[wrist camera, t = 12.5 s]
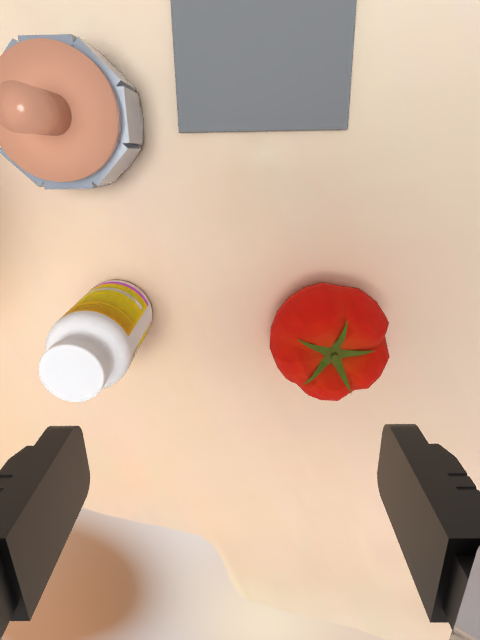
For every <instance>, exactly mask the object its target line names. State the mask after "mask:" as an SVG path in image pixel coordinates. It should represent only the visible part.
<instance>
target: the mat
mask: <svg viewBox="0 0 480 640" xmlns="http://www.w3.org/2000/svg"><path fill="white" fill-rule="evenodd" d="M356 1H357V0H171V15H172V31H173V46H174V62H175V78H176V94H177V110H178V126H179V133H187V132H242V131H296V130H346V129H348V116H349V101H350V87H351V73H352V58H353V44H354V30H355V15H356Z"/></svg>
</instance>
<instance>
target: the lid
mask: <svg viewBox="0 0 480 640" xmlns="http://www.w3.org/2000/svg"><path fill="white" fill-rule="evenodd" d="M120 132H121V113H120V107H119V103H118V99H117V96H116V93H115V91H114V89H113V86H112V85H111V83H110V81H109V79H108V78H107V76H106V75H105V73H104V72H103V71H102V69H101V68H100V67H99V66H98V65H97V64H96V63H95V62H94V61H93V60H91V59H90V58H89V57H88V56H86V55H85V54H83V53H82V52H80V51H79V50H77V49H75V48H74V47H72V46H70V45H68V44H66V43H63V42H60V41H57V40H53V39H47V38H36V39H29V40H25V41H22V42H19V43H17V44H15V45H13V46H12V47H10V48H9V49H7V50H6V51H5V52H4V53H3V54H2V55H1V56H0V146H1V148H2V149H3V151H4V152H5V153H6V154H7V155H8V157H9V158H10V159H11V160H12V161H13V162H14V163H16V164H17V165H18V166H19V167H21V168H22V169H23V170H25V171H26V172H28V173H30V174H32V175H34V176H36V177H38V178H41V179H44V180H48V181H54V182H69V181H76V180H80V179H84V178H87V177H89V176H91V175H93V174H95V173H96V172H98V171H99V170H100V169H102V168H103V167H104V166H105V165H106V164H107V163H108V161H109V160H110V159H111V157H112V156H113V154H114V152H115V150H116V148H117V144H118V141H119V137H120Z"/></svg>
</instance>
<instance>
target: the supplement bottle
mask: <svg viewBox="0 0 480 640" xmlns="http://www.w3.org/2000/svg"><path fill="white" fill-rule="evenodd" d="M151 322H152V308H151V304H150V302H149V300H148V298H147V297H146V295H145V294H144V293H143V292H142V291H141V290H140V289H139V288H138V287H136V286H135V285H133V284H131V283H128V282H125V281H121V280H110V281H106V282H103V283H100V284H98V285H97V286H95V287H94V288H93V289H92V290H91V291H89V292H88V293H87V294H86V295H85V296H84V297H83V298H82V299H81V300H80V301H79V302H78V303H77V304H76V305H75V306H73V307H72V308H71V309H70V310H69V311H68V312H67V313H66V314H65V315H64V316H63V317H62V318H60V319H59V320H58V321H57V322H56V323H55V324H54V326H53V327H52V328H51V330H50V332H49V334H48V336H47V340H46V352H45V353H44V355H43V356H42V358H41V360H40V363H39V375H40V378H41V381H42V383H43V384H44V386H45V387H46V388H47V389H48V390H49V391H50V392H51V393H52V394H53V395H55V396H56V397H58V398H60V399H63V400H66V401H70V402H82V401H87V400H89V399H91V398H93V397H95V396H96V395H97V394H98V393H99V392H100V391H101V389H104V388H107V387H109V386H111V385H113V384H115V383H116V382H118V381H119V380H120V379H121V378H122V377H123V376H124V374H125V373H126V371H127V370H128V368H129V366H130V364H131V362H132V360H133V358H134V356H135V354H136V352H137V351H138V349H139V347H140V345H141V343H142V341H143V339H144V338H145V336H146V334H147V332H148V330H149V328H150V325H151Z"/></svg>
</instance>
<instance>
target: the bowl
mask: <svg viewBox="0 0 480 640" xmlns="http://www.w3.org/2000/svg"><path fill="white" fill-rule="evenodd" d="M36 38H47V39H53V40H57V41H60V42H63V43H66V44H68V45H70V46H72V47H74V48H75V49H77V50H79V51H80V52H82V53H83V54H85V55H86V56H88V57H89V58H90V59H91V60H93V61H94V62H95V63H96V64H97V65H98V66H99V67H100V68H101V69H102V71H103V72H104V73H105V75H106V76H107V78H108V79H109V81H110V83H111V85H112V86H113V89H114V91H115V93H116V96H117V99H118V103H119V107H120V113H121V132H120V137H119V141H118V144H117V148H116V150H115V152H114V154H113V156H112V157H111V159H110V160H109V161H108V163H107V164H106V165H105V166H104V167H103V168H102V169H100V170H99V171H98V172H96V173H95V174H93V175H91V176H89V177H87V178H84V179H80V180H76V181H69V182H54V181H48V180H44V179H41V178H38V177H36V176H34V175H32V174H30V173H28V172H26V171H25V170H23V169H22V168H21V167H19V166H18V165H17V164H16V163H14V162H13V161H12V160H11V159H10V158H9V157H8V155H7V154H6V153H5V152H4V151H3V149H2V148H1V147H0V153H1V154H2V155H3V156H4V157H5V158H7V159H8V160H9V161H10V162H11V163H12V164H14V165H15V166H16V167H17V168H18V169H19V170H20V171H22V172H23V173H24V174H25V175H26V176H27V177H28V178H30V179H31V180H32V181H33V182H34V183H35V184H37V185H38V186H39V187H43V186H44V187H45V189H88V188H97V187H101V186H105V185H109V184H110V183H113V182H115V181H116V180H117V178H118V177H119V176H120V175H121V174H122V173H123V172H125V171H126V170H127V169H128V168H129V167H130V166H131V164H132V163H133V161H134V160H135V158H136V156H137V155H138V153H139V151H140V150H141V148H140V147H141V144H143V131H144V122H143V114H142V109H141V106H140V102H139V95H138V94H137V93H136V92H135V89H136V88H135V87H134V86H133V85H132V84H131V83H130V82H129V81H128V80H127V79H126V77H125V76H124V75H123V74H122V73H121V72H120V71H119V70H118V69H117V68H116V67H114V66H113V65H112V64H111V63H110V62H109V61H108V60H107V59H106V58H105V57H104V56H103V55H102V54H101V53H100V52H99V51H98V50H96V49H95V48H93V47H92V46H90V45H89V44H87V43H86V42H84V41H83V40H81V39H80V38H79V37H77V38H76V37H75V36H74V35H72V34H67V35H21V36H18V40H19V41H17V40H15V39H12V40H11V42H10V43H9V45H8V46H7V48H6V49H5V51H6V50H7V49H9V48H10V47H12V46H13V45H15V44H17V43H19V42H22V41H25V40H29V39H36ZM5 51H4V52H5ZM4 52H3V53H4Z"/></svg>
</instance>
